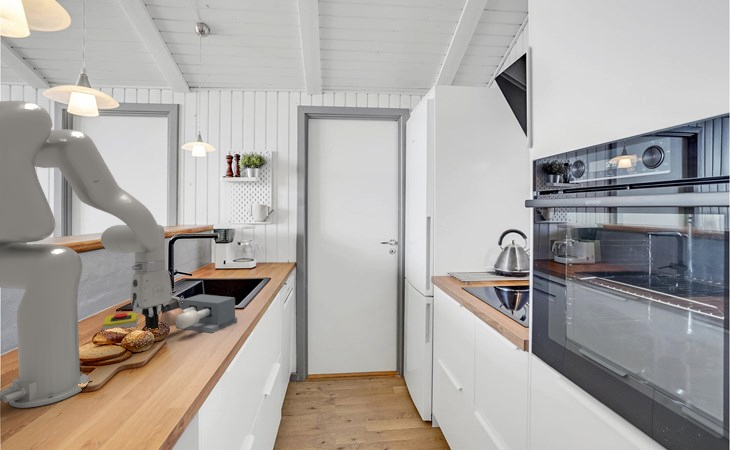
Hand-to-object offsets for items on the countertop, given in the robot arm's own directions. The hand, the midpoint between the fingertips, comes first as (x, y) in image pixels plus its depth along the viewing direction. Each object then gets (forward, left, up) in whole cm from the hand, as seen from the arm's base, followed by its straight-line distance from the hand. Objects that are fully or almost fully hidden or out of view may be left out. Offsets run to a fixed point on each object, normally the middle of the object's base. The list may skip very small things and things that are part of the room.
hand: (152, 328), depth 101 cm
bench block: (+18, -3, -4) cm, 19 cm away
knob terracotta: (+10, 0, -1) cm, 10 cm away
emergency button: (+8, +24, -5) cm, 26 cm away
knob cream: (+10, -6, -1) cm, 12 cm away
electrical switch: (+17, +11, -5) cm, 21 cm away
